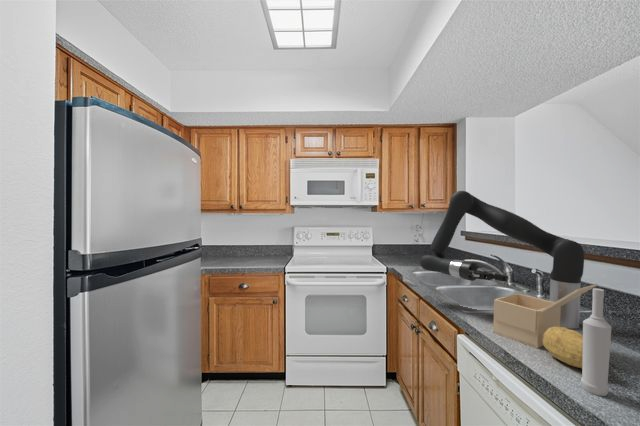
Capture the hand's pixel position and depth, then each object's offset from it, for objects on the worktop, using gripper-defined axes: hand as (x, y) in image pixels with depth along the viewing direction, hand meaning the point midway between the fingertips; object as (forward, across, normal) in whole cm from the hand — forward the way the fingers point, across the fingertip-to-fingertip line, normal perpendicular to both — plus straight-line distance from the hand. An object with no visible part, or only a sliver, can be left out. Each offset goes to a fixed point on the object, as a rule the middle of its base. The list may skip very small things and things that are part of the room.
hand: (506, 278), depth 113 cm
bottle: (+32, -21, +19) cm, 43 cm away
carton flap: (+19, 0, +2) cm, 19 cm away
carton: (+7, 0, +18) cm, 20 cm away
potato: (+23, -10, +19) cm, 32 cm away
